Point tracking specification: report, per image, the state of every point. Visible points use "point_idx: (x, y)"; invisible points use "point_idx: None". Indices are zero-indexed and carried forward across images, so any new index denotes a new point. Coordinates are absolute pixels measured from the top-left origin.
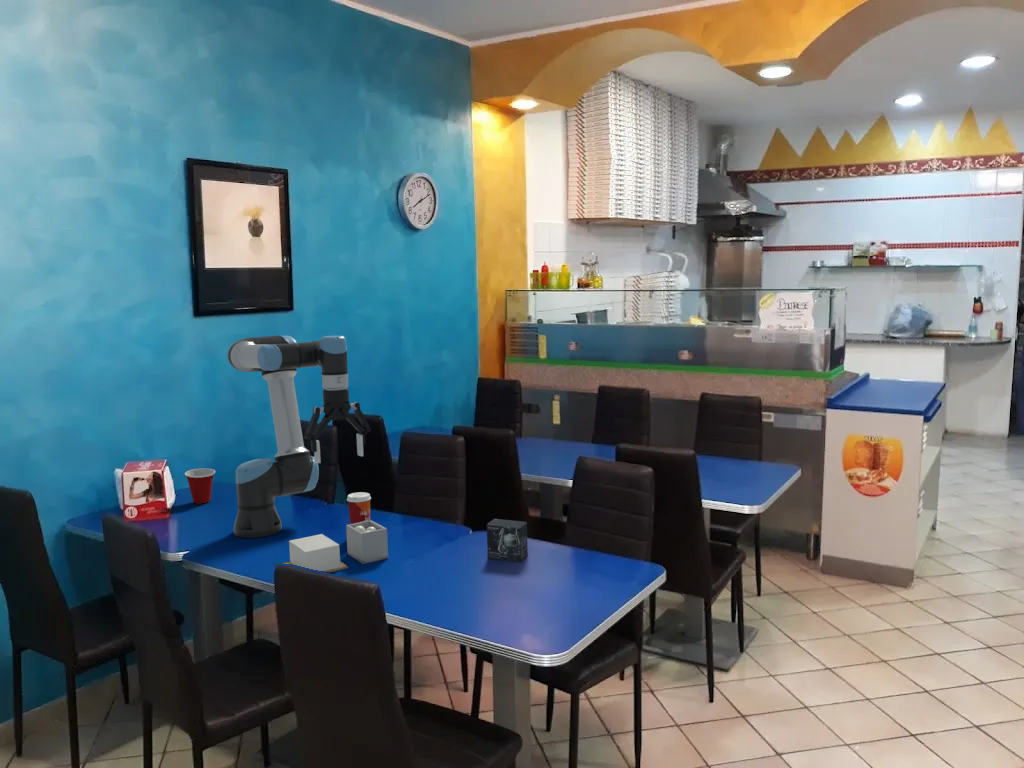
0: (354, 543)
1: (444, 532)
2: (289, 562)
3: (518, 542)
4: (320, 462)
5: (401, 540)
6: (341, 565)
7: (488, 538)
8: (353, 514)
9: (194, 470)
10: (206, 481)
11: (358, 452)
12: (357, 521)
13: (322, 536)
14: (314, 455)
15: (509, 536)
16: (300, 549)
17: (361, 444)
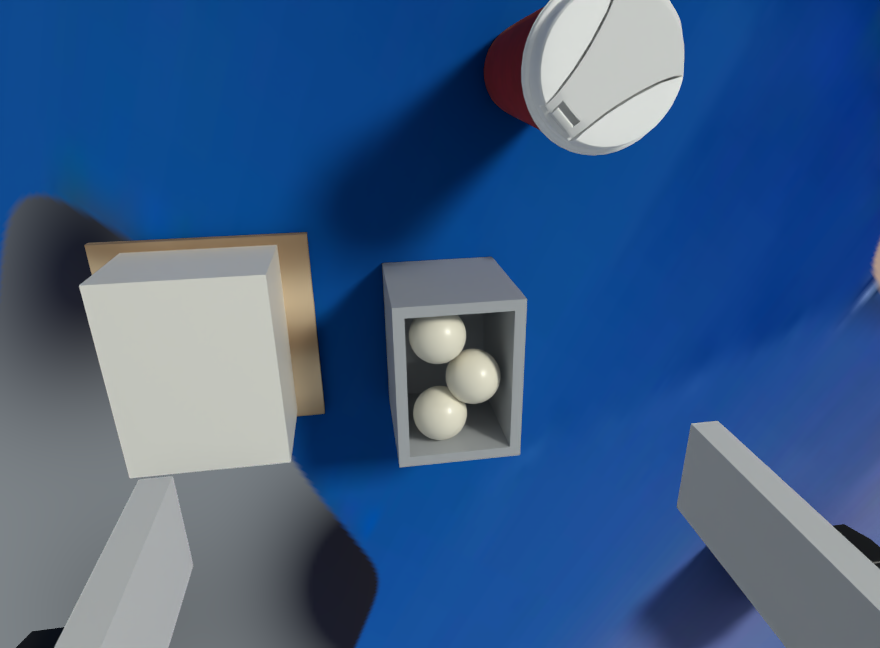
0: (390, 361)
1: (809, 237)
2: (116, 247)
3: None
4: (190, 567)
5: (634, 228)
6: (306, 395)
7: None
8: (516, 104)
9: None
10: None
11: (706, 474)
12: (520, 118)
13: (257, 315)
14: (111, 539)
15: None
16: (117, 425)
17: (772, 615)
